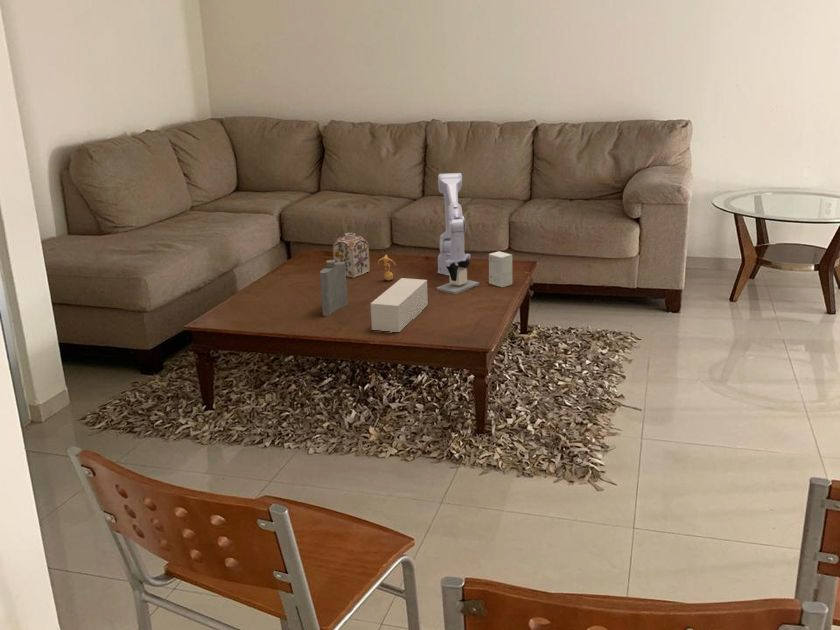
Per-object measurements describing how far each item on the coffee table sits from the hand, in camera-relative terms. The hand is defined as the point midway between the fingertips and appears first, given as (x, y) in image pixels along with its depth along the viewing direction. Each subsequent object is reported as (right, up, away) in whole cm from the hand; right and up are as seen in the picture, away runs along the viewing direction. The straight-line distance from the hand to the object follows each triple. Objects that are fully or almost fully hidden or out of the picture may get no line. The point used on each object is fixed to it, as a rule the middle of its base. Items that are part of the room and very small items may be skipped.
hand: (458, 278), depth 369 cm
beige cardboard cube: (0, -1, 0) cm, 2 cm away
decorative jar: (-46, +3, +25) cm, 53 cm away
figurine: (-30, -1, +13) cm, 32 cm away
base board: (0, -3, +1) cm, 4 cm away
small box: (+18, -2, +4) cm, 19 cm away
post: (0, -3, +1) cm, 4 cm away
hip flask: (-49, -13, -21) cm, 55 cm away
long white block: (-23, -16, -32) cm, 43 cm away
